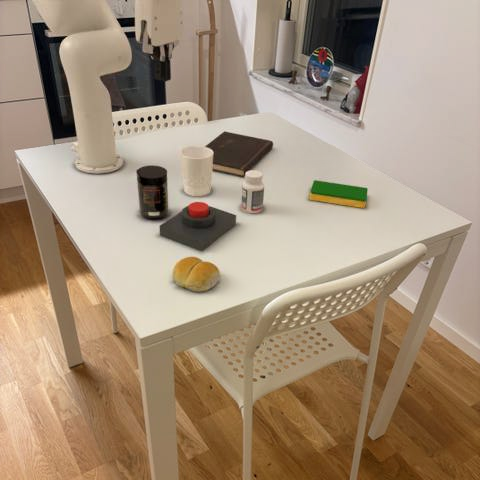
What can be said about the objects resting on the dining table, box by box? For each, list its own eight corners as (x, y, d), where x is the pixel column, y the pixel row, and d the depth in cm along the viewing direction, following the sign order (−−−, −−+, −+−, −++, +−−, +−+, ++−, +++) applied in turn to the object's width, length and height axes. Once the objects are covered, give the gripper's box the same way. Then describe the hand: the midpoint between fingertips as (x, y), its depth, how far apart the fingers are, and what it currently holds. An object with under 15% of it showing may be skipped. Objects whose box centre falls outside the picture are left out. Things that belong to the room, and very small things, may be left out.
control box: (159, 235, 112) (158, 217, 110) (196, 211, 122) (196, 193, 119) (201, 251, 108) (201, 232, 106) (235, 224, 118) (236, 206, 115)
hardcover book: (190, 165, 142) (190, 157, 140) (224, 138, 158) (224, 131, 157) (244, 177, 137) (244, 169, 136) (272, 148, 154) (273, 141, 153)
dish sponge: (312, 188, 135) (314, 179, 133) (365, 196, 133) (367, 187, 131) (309, 200, 129) (310, 191, 128) (364, 208, 127) (366, 199, 126)
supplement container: (167, 206, 123) (165, 164, 116) (170, 220, 118) (169, 177, 111) (138, 208, 121) (135, 166, 115) (141, 222, 116) (137, 179, 110)
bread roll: (189, 262, 105) (189, 245, 102) (225, 278, 101) (226, 260, 99) (163, 281, 99) (162, 264, 97) (200, 298, 96) (200, 280, 93)
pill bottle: (265, 206, 126) (268, 171, 120) (258, 215, 122) (261, 180, 116) (244, 201, 127) (246, 167, 121) (237, 211, 123) (239, 175, 117)
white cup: (208, 199, 127) (208, 160, 120) (177, 195, 128) (176, 156, 121) (215, 186, 133) (216, 148, 126) (186, 182, 134) (185, 144, 127)
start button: (184, 214, 112) (184, 207, 111) (196, 207, 115) (196, 199, 114) (201, 220, 110) (201, 213, 109) (212, 212, 113) (212, 205, 112)
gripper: (166, -29, 104) (169, 69, 116) (116, -23, 94) (125, 83, 106) (197, -24, 102) (197, 75, 113) (149, -18, 91) (154, 91, 103)
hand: (162, 79), depth 110 cm, fingers closed
